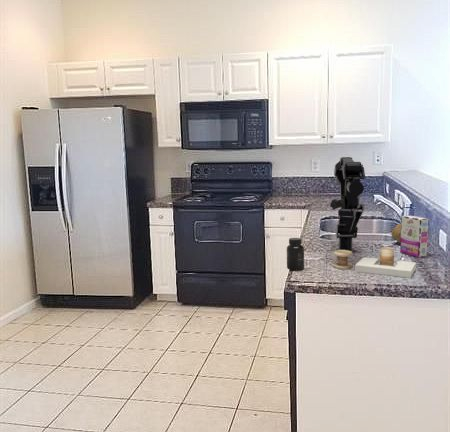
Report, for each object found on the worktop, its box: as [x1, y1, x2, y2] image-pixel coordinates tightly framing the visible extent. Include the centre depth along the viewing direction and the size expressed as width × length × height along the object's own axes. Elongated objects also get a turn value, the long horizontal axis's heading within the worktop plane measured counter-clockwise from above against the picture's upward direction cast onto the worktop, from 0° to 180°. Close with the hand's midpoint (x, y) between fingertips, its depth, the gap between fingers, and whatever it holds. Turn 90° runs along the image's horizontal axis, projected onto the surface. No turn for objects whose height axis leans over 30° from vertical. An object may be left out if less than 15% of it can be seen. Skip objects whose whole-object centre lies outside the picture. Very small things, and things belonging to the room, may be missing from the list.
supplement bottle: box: [286, 237, 305, 271], centre depth 188 cm, size 7×7×12 cm
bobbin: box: [333, 249, 353, 270], centre depth 190 cm, size 7×7×6 cm
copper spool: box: [379, 246, 395, 266], centre depth 185 cm, size 5×5×8 cm
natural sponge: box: [391, 223, 401, 245], centre depth 224 cm, size 9×9×10 cm
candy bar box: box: [399, 214, 430, 259], centre depth 205 cm, size 11×5×16 cm, turn 23°
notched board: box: [354, 257, 417, 279], centre depth 184 cm, size 13×20×2 cm, turn 61°
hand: (351, 230), depth 198 cm, fingers open, 9 cm apart
